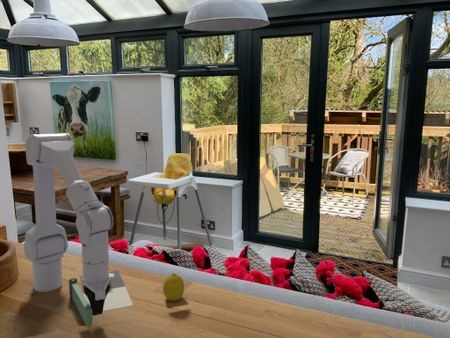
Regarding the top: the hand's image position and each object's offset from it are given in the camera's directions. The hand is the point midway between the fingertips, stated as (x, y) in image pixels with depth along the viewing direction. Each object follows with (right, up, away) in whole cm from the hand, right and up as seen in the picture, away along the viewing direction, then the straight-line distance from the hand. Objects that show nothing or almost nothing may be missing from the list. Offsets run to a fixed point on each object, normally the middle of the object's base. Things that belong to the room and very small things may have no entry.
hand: (97, 314), depth 89 cm
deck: (-3, 0, +15) cm, 16 cm away
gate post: (-10, -1, +10) cm, 14 cm away
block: (-5, +2, +18) cm, 19 cm away
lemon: (+16, -1, +11) cm, 20 cm away
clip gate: (-5, 0, +3) cm, 5 cm away
